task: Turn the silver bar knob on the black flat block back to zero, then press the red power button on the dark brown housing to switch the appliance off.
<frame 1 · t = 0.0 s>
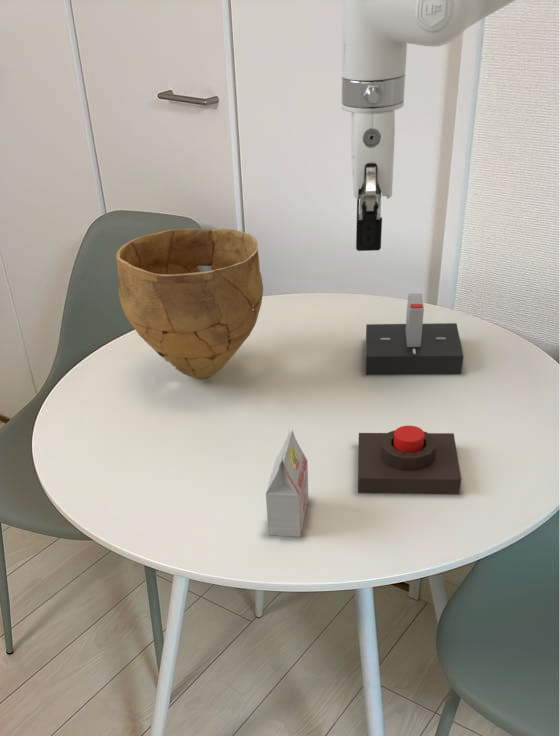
hand: (368, 236, 102), 20 cm above the table, tool pointing down, fingers open, 9 cm apart
power button: (408, 439, 91), point 4 cm above the table, slide at 0.1 cm
black flat block: (411, 357, 117), on the table
milk carton: (289, 518, 89), on the table
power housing: (406, 469, 94), on the table
bowl: (202, 378, 116), on the table
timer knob: (414, 319, 113), point 6 cm above the table, hinge at 90.0°
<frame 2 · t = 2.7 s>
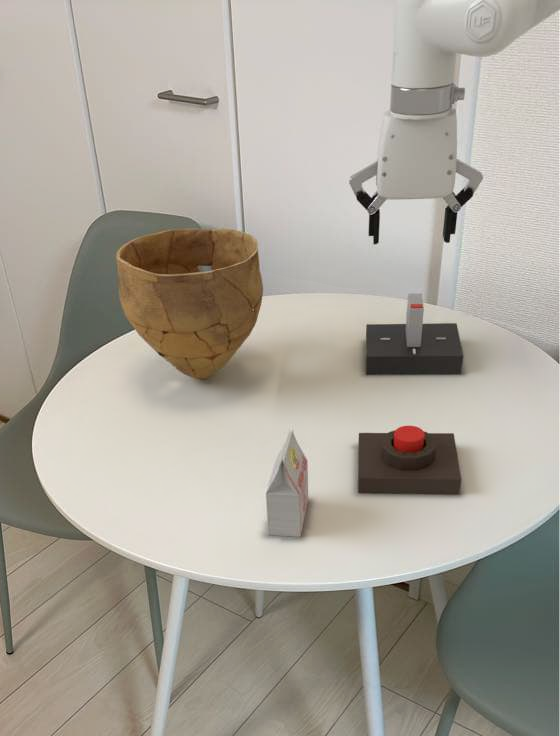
hand: (410, 240, 105), 18 cm above the table, tool pointing down, fingers open, 9 cm apart
nothing on the table moved.
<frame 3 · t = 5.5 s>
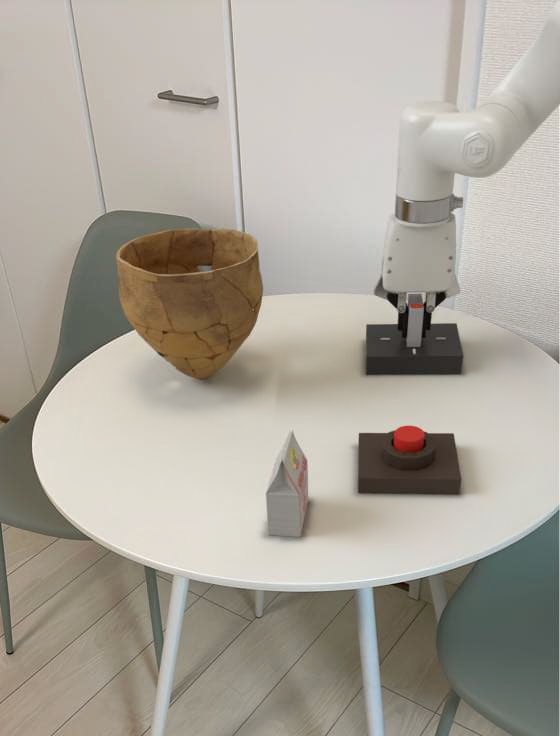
hand: (413, 333, 114), 4 cm above the table, tool pointing down, fingers closed on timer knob, 2 cm apart
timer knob: (414, 319, 113), point 6 cm above the table, hinge at 90.0°, touching gripper
everything else where it was.
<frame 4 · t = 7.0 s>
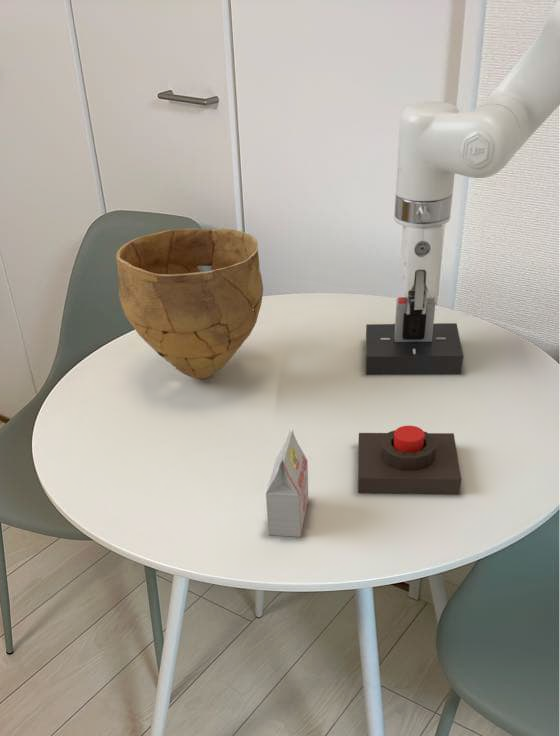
hand: (412, 333, 114), 4 cm above the table, tool pointing down, fingers closed on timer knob, 2 cm apart
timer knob: (414, 319, 113), point 6 cm above the table, hinge at 0.3°, touching gripper
everything else where it was.
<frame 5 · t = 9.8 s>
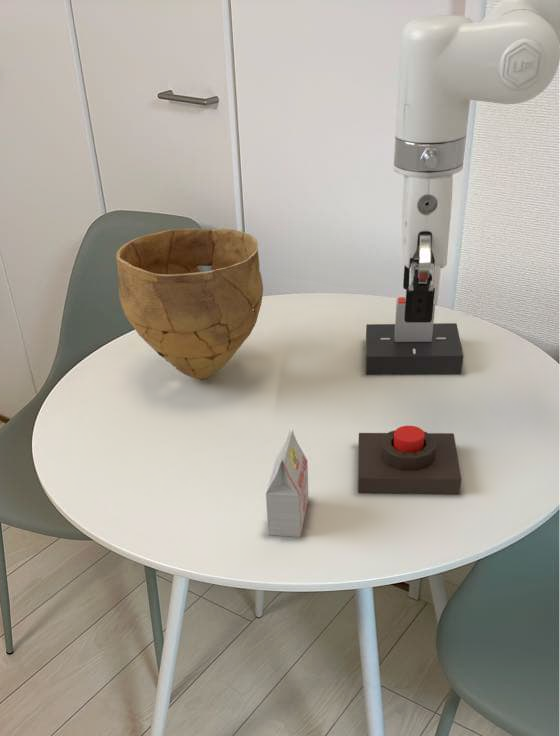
hand: (416, 304, 93), 16 cm above the table, tool pointing down, fingers open, 9 cm apart
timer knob: (414, 319, 113), point 6 cm above the table, hinge at 0.3°
everything else where it was.
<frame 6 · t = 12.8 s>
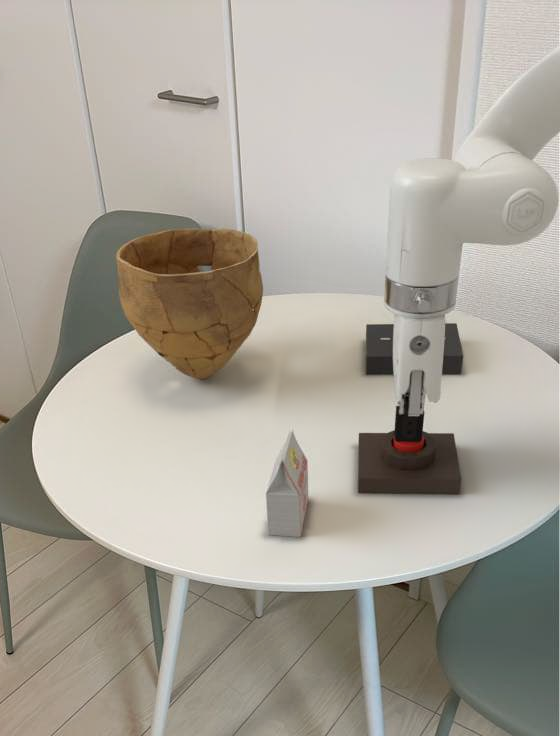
hand: (407, 437, 91), 5 cm above the table, tool pointing down, fingers closed
power button: (408, 444, 92), point 4 cm above the table, slide at -0.6 cm, touching gripper
everything else where it was.
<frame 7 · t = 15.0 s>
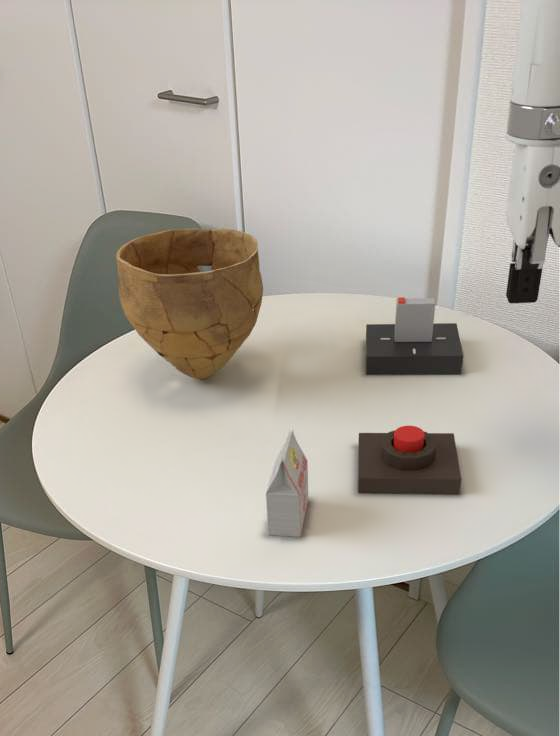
hand: (521, 299, 86), 19 cm above the table, tool pointing down, fingers closed
power button: (408, 439, 91), point 4 cm above the table, slide at 0.1 cm
everything else where it was.
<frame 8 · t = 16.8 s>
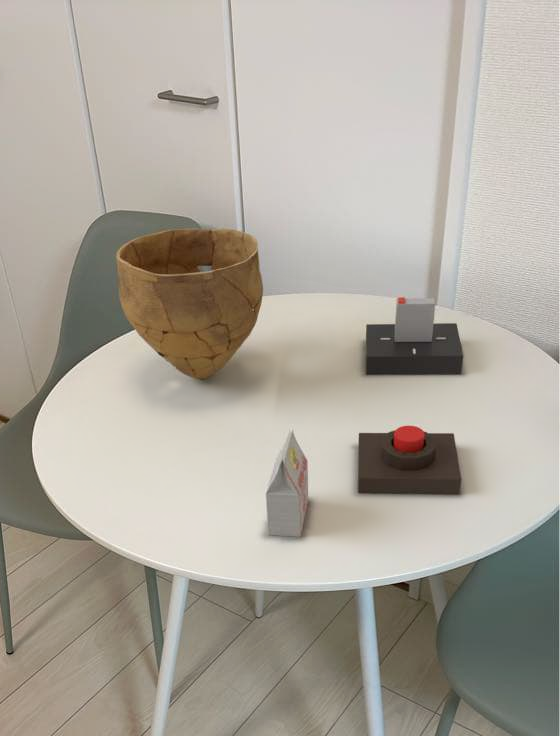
nothing on the table moved.
at the end: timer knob at +0° (first picture: +90°); power button pushed in 1.1 cm at the most during the clip, back to where it started at the end; power button slide at 0.1 cm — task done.
